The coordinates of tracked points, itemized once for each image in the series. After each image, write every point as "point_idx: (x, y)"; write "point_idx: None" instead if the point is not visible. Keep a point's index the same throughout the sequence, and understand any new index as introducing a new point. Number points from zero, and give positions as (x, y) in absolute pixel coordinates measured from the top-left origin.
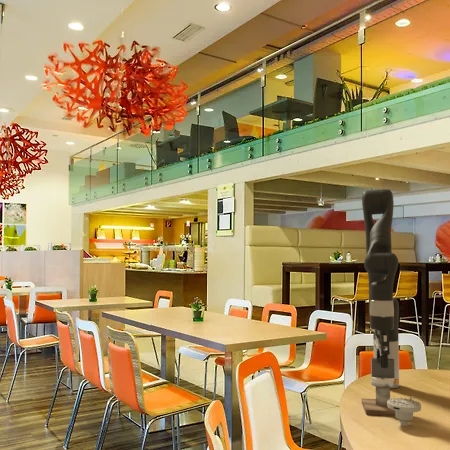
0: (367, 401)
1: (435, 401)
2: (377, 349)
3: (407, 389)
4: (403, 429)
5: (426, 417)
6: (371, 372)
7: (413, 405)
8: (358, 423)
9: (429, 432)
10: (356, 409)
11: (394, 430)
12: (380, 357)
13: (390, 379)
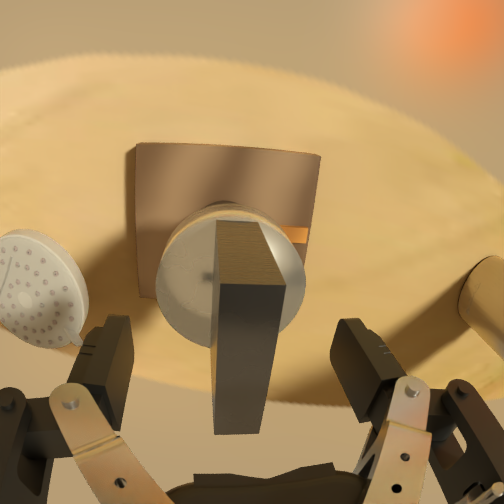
0: (272, 172)
1: (328, 388)
2: (390, 395)
3: (443, 337)
4: None
5: (155, 342)
6: (237, 229)
7: (3, 317)
8: (41, 107)
9: None
10: (214, 112)
11: (6, 219)
12: (103, 370)
13: (169, 321)
